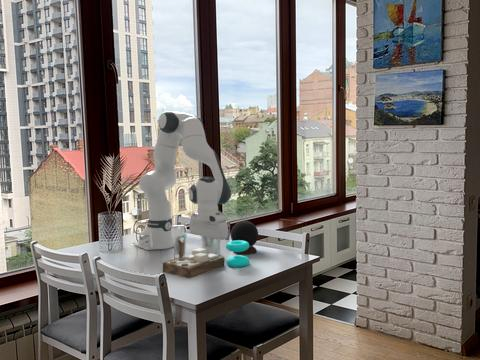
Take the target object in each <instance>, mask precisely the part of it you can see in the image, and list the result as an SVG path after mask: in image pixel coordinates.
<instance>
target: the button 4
mask: <svg viewBox="0 0 480 360" xmlns="http://www.w3.org/2000/svg"><path fill="white" fill-rule="evenodd" d="M208 256H209V259H214V258H218V255H217V254H211V253H210V254H208Z"/></svg>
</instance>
